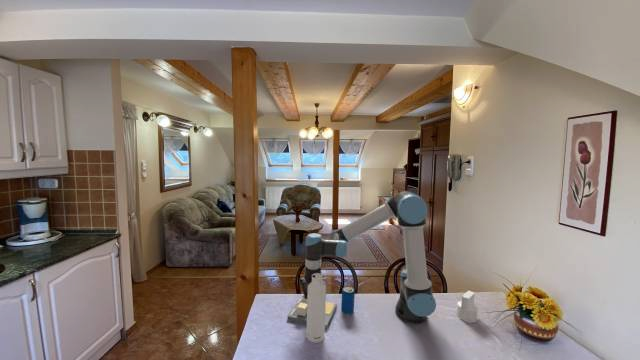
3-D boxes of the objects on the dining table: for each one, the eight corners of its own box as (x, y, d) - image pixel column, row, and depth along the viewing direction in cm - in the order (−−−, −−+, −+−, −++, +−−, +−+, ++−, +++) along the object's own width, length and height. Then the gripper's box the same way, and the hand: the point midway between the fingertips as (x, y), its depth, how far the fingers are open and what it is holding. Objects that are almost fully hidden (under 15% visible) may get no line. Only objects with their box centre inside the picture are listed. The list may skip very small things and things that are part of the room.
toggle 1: (307, 311, 129) (308, 304, 129) (304, 316, 125) (305, 308, 125) (300, 310, 130) (300, 302, 130) (297, 314, 126) (297, 306, 126)
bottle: (318, 345, 110) (320, 282, 107) (302, 338, 114) (304, 277, 111) (327, 333, 117) (329, 274, 114) (312, 327, 121) (314, 269, 118)
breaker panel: (336, 307, 137) (336, 303, 137) (326, 329, 120) (327, 324, 120) (301, 300, 143) (301, 296, 143) (287, 319, 126) (287, 315, 126)
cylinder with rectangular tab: (472, 325, 126) (475, 301, 125) (453, 316, 133) (455, 293, 132) (479, 317, 132) (481, 295, 131) (460, 309, 139) (462, 288, 138)
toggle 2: (312, 300, 139) (312, 293, 138) (309, 304, 135) (309, 297, 135) (305, 299, 140) (305, 292, 140) (302, 303, 136) (302, 295, 136)
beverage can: (350, 316, 130) (351, 294, 129) (338, 312, 133) (339, 290, 132) (355, 310, 135) (356, 288, 134) (344, 306, 139) (345, 284, 137)
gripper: (328, 265, 125) (327, 311, 128) (303, 261, 129) (302, 306, 132) (324, 272, 118) (322, 320, 121) (297, 267, 122) (296, 314, 125)
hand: (312, 313), depth 126 cm, fingers closed
